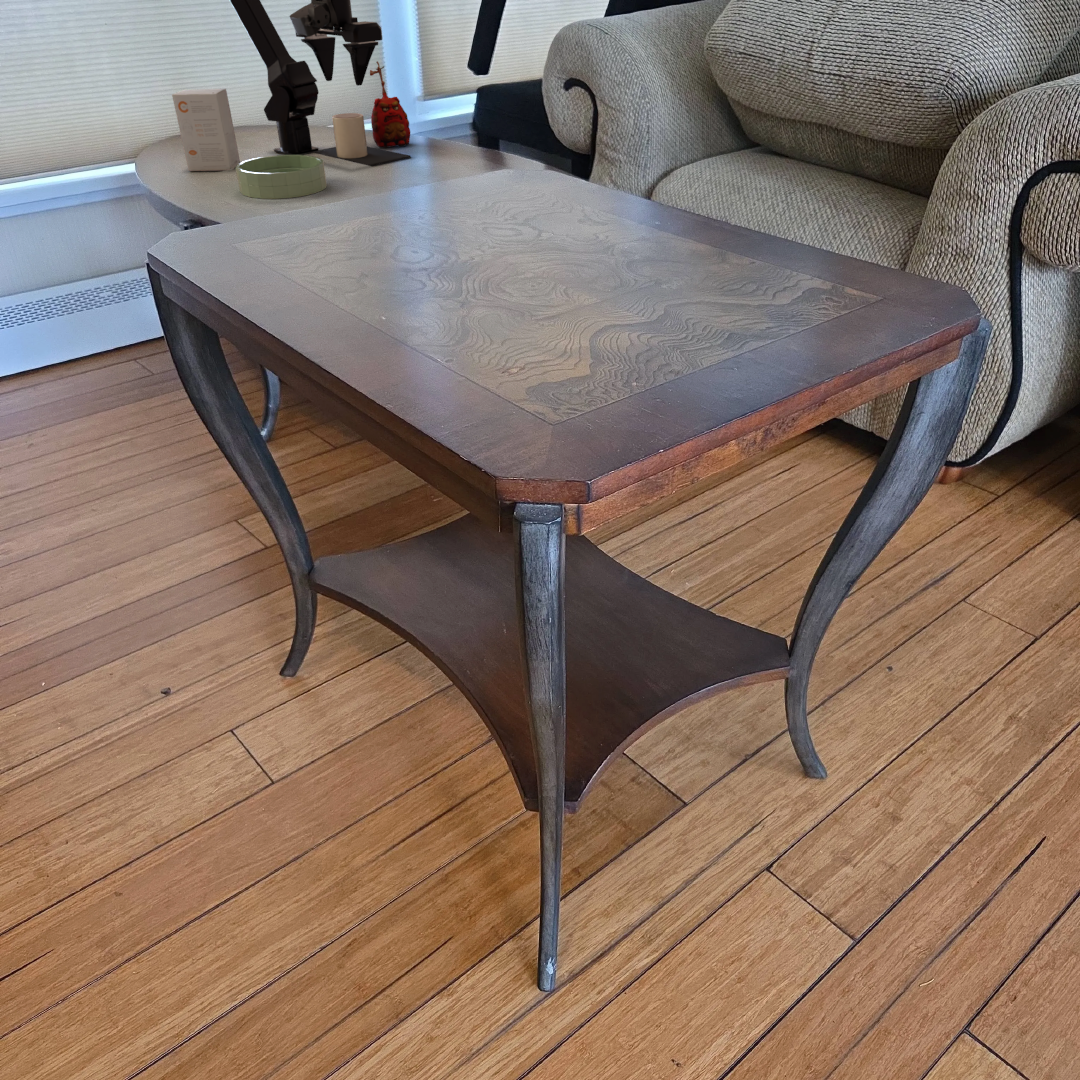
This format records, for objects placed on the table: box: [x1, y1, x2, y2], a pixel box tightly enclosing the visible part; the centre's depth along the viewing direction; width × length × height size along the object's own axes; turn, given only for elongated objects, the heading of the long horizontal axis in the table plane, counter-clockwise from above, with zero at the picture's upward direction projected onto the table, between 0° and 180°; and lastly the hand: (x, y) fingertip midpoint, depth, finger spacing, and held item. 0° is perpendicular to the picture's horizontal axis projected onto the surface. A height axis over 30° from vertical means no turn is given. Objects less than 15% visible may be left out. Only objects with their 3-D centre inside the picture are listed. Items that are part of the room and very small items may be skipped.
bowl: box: [235, 154, 328, 200], centre depth 157 cm, size 14×14×4 cm
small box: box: [171, 88, 241, 172], centre depth 171 cm, size 8×6×13 cm
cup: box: [331, 112, 368, 158], centre depth 178 cm, size 6×6×7 cm
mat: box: [298, 146, 412, 167], centre depth 180 cm, size 18×14×1 cm
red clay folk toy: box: [369, 60, 411, 149], centre depth 185 cm, size 8×7×15 cm
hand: (343, 83), depth 173 cm, fingers open, 9 cm apart
